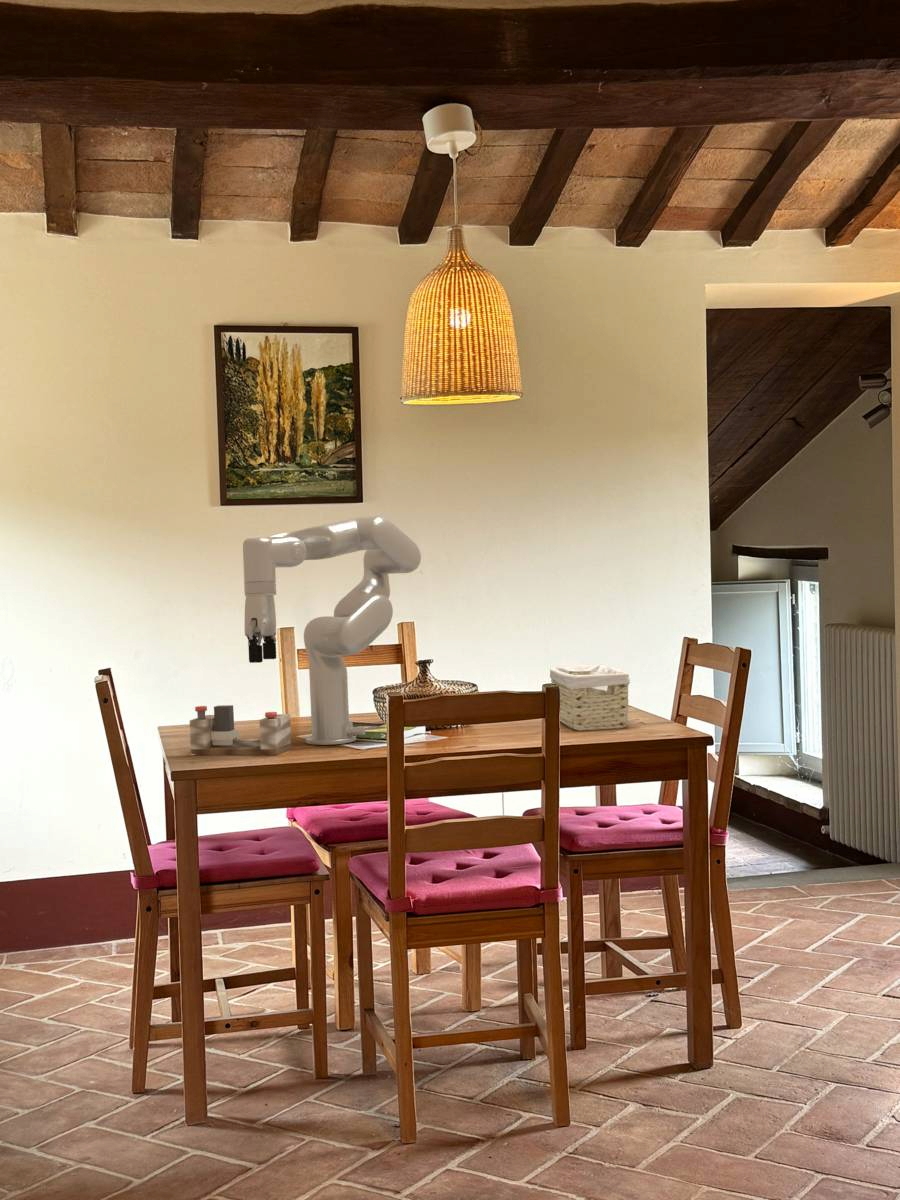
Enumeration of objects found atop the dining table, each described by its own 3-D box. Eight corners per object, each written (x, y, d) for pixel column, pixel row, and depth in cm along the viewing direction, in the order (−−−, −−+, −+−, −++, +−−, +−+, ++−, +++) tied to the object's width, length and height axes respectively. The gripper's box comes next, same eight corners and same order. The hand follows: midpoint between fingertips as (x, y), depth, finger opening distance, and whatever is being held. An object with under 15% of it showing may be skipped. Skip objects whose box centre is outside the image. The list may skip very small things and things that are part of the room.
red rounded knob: (209, 722, 316) (208, 705, 315) (204, 723, 313) (203, 707, 313) (198, 722, 316) (198, 706, 316) (193, 723, 313) (193, 707, 313)
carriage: (238, 742, 318) (237, 704, 318) (230, 745, 313) (229, 707, 313) (219, 742, 319) (218, 704, 319) (211, 745, 314) (209, 707, 314)
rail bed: (291, 748, 317) (290, 714, 317) (276, 755, 308) (275, 719, 307) (208, 748, 323) (206, 714, 322) (191, 755, 313) (189, 720, 312)
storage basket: (633, 729, 330) (631, 671, 329) (571, 732, 327) (569, 674, 327) (607, 717, 353) (605, 663, 353) (549, 721, 351) (547, 666, 350)
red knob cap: (279, 728, 311) (278, 711, 311) (275, 729, 309) (274, 713, 309) (268, 728, 312) (267, 711, 312) (263, 730, 309) (263, 713, 309)
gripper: (257, 588, 319) (260, 658, 319) (232, 590, 302) (235, 664, 302) (286, 587, 317) (289, 657, 318) (262, 590, 300) (265, 663, 301)
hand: (262, 660), depth 310 cm, fingers open, 9 cm apart
